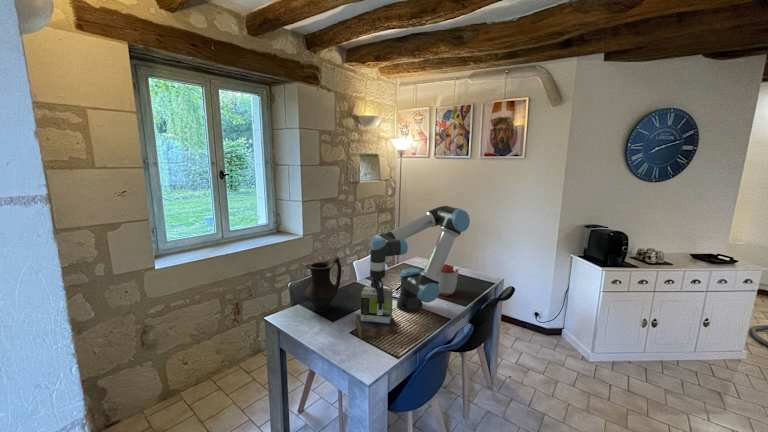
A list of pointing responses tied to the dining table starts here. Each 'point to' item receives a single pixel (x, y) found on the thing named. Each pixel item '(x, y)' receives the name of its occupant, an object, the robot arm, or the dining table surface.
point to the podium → (375, 328)
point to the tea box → (370, 305)
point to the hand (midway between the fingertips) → (376, 308)
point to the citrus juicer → (447, 280)
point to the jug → (322, 284)
